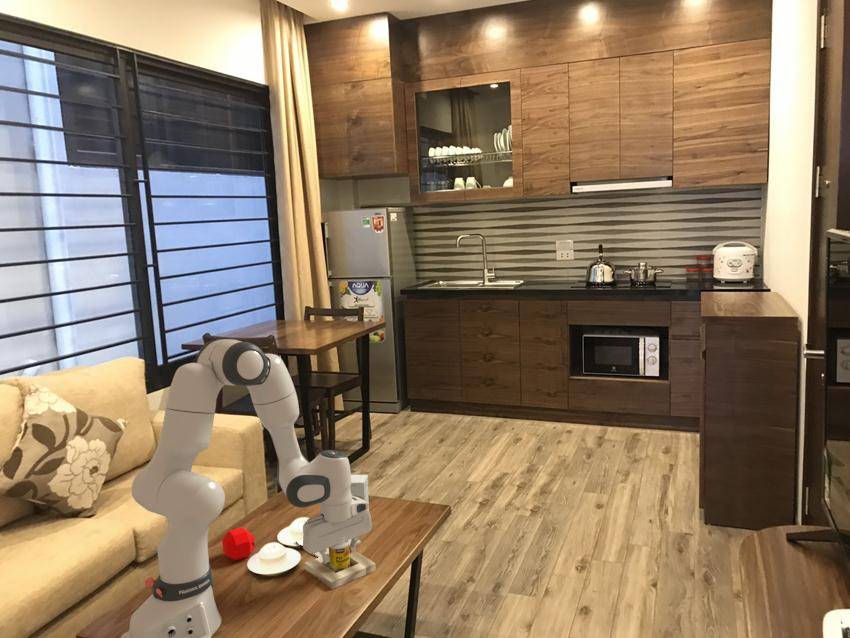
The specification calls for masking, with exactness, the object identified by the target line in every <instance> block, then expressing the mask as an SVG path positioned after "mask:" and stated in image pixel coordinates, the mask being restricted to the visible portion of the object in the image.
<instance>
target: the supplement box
mask: <svg viewBox="0 0 850 638" xmlns="http://www.w3.org/2000/svg"><path fill="white" fill-rule="evenodd" d="M350 491H351V494H352V496H356V497H358V498H361V499H363V500H365V501H366V502H368V504H369V505H370V503H369V502H370V501H369V475H368V474H351V486H350ZM368 510H369V511H370V507H369V508H368Z"/></svg>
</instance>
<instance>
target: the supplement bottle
mask: <svg viewBox="0 0 850 638" xmlns="http://www.w3.org/2000/svg"><path fill="white" fill-rule="evenodd" d="M329 556H330V558H331V559H330V560H331V561H330V566H329V569H330V570H332V571H333V572H334V573H337V572H340V571H342V570H344V569H347V568H349V567H351V564H350V554H349V541H348V540H347V541H345V536H343V537H340V538H339V544H337V545H334V546H332V547H329Z"/></svg>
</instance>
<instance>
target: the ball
mask: <svg viewBox="0 0 850 638" xmlns="http://www.w3.org/2000/svg"><path fill="white" fill-rule="evenodd" d="M255 548H256V547H255V536H254V535H253V534H252V533H251V532H250V531H249V530H247V529H245V527H242V526H241V527H237V528H233V529H230V530H228V531H227V533H226V534H225V535H224V536H223V538H222V551H223V552H224V554H225V555H226V556H227V557H228V558H230V559H232V560H233V561H235V562H236V561H239V560H242V559H245V558H249V556H250V555H251V554H252V552H253V551H254V550H255Z"/></svg>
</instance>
